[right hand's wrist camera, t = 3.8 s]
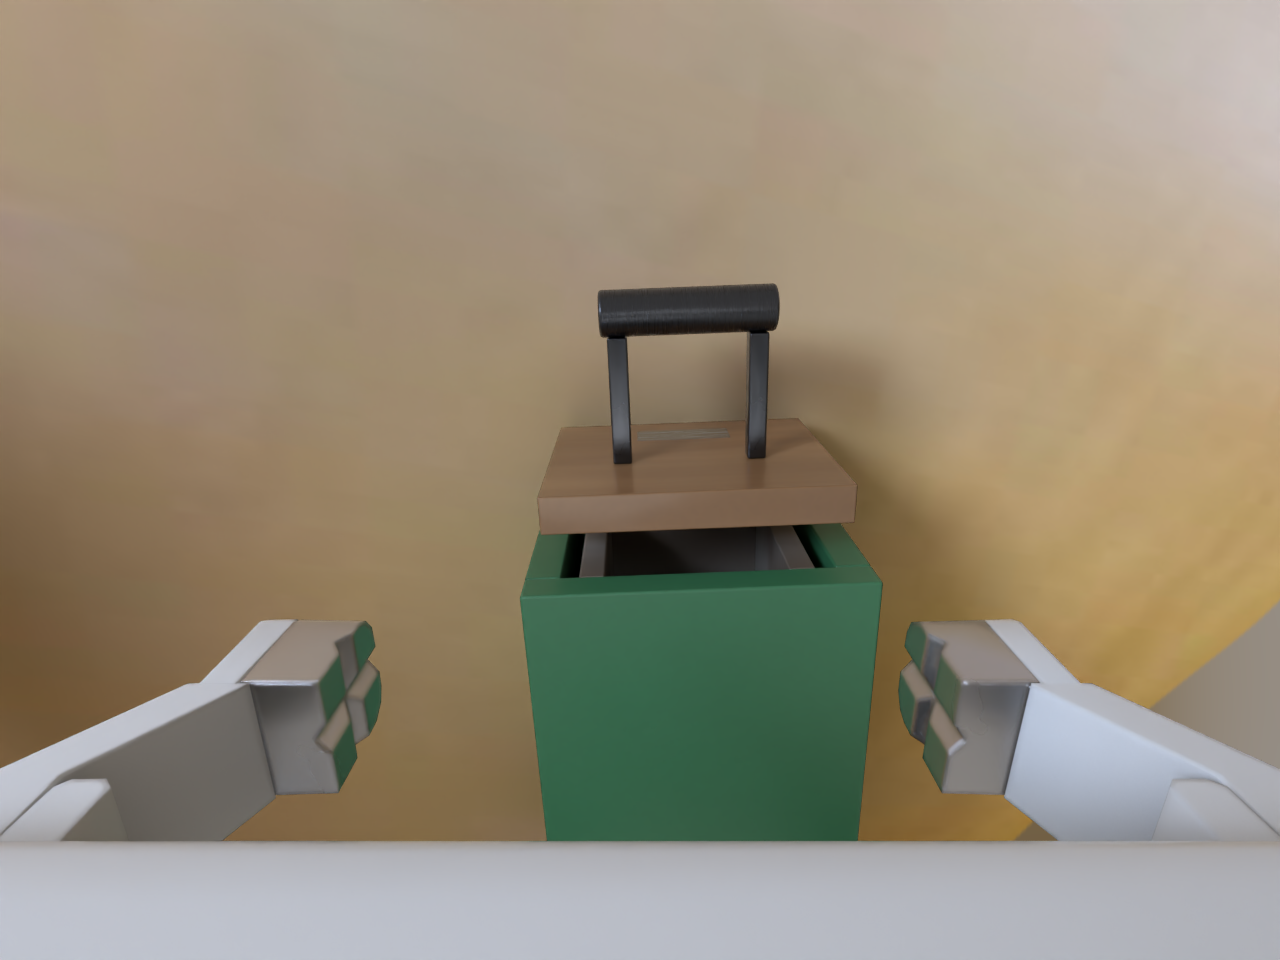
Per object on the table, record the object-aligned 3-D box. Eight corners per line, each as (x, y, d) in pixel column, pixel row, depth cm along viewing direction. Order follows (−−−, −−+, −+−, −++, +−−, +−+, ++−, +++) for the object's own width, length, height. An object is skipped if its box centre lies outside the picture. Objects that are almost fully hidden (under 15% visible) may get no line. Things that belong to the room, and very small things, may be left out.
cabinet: (553, 481, 28) (519, 597, 19) (804, 471, 28) (884, 582, 19) (583, 826, 35) (567, 1029, 26) (787, 817, 35) (841, 1018, 26)
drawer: (549, 282, 24) (517, 303, 18) (805, 271, 24) (873, 288, 18) (589, 779, 32) (578, 927, 25) (782, 772, 32) (823, 918, 25)
